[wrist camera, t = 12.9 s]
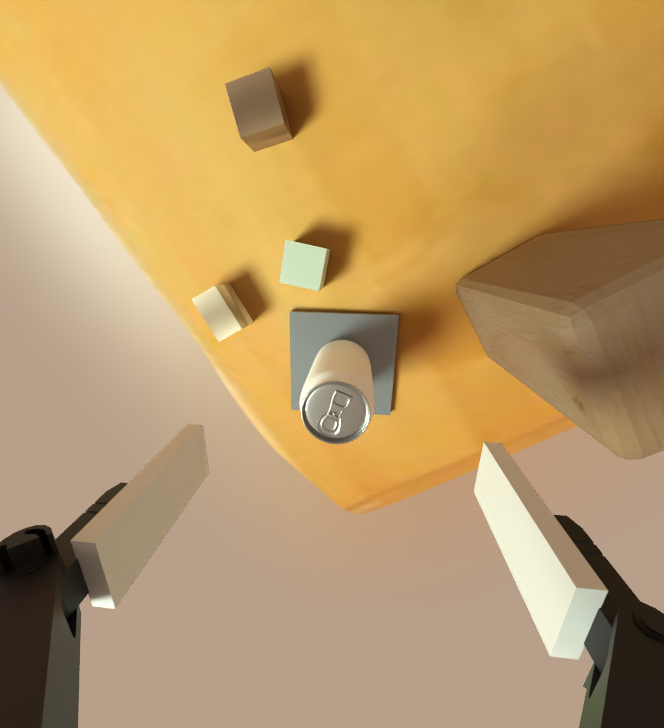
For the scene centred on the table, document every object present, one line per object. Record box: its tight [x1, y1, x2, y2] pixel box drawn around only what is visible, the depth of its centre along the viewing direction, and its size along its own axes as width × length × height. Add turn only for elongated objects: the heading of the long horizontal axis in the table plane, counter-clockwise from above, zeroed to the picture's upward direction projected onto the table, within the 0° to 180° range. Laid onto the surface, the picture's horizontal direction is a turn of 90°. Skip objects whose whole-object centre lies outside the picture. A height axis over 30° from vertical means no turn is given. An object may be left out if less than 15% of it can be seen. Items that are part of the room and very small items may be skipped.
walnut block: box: [225, 67, 293, 152], centre depth 29 cm, size 4×4×4 cm
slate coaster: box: [290, 311, 399, 415], centre depth 37 cm, size 12×12×1 cm
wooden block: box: [456, 219, 664, 460], centre depth 25 cm, size 10×10×20 cm
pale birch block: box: [192, 283, 253, 341], centre depth 35 cm, size 5×3×4 cm, turn 29°
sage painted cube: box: [279, 240, 330, 291], centre depth 33 cm, size 4×4×4 cm
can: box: [300, 340, 375, 444], centre depth 31 cm, size 6×6×12 cm
